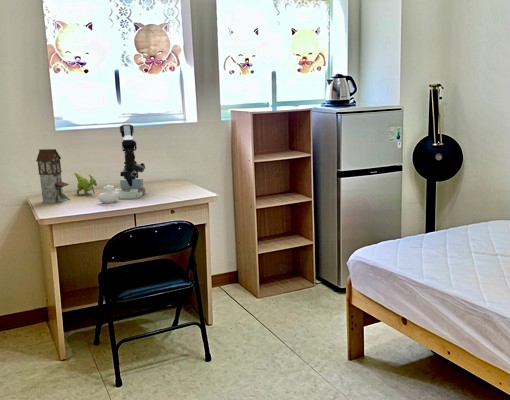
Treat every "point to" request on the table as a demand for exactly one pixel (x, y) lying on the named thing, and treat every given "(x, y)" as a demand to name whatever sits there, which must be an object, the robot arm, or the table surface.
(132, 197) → the tray
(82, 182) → the toy
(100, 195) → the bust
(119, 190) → the tile
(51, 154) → the model building
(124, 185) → the long blue block
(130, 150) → the robot arm
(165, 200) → the table surface
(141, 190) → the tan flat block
